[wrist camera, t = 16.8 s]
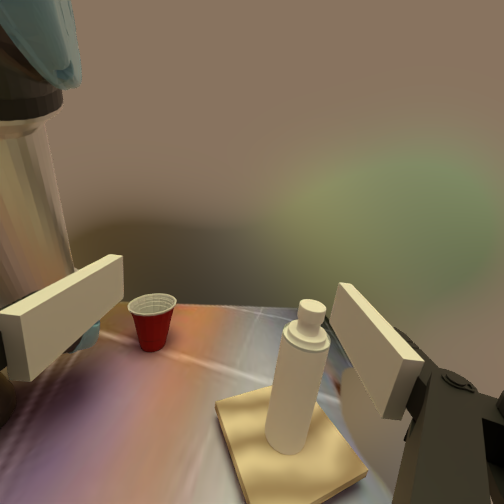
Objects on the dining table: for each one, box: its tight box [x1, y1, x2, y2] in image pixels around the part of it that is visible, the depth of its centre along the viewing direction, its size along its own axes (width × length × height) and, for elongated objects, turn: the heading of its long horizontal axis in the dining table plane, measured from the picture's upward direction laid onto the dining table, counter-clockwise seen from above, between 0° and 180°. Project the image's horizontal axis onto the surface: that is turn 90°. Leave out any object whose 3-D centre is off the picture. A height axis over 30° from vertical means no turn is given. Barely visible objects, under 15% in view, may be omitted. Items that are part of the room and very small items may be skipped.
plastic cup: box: [128, 294, 177, 352], centre depth 59 cm, size 11×11×12 cm
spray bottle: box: [265, 299, 331, 455], centre depth 36 cm, size 7×7×25 cm
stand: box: [215, 386, 368, 504], centre depth 40 cm, size 18×18×4 cm
